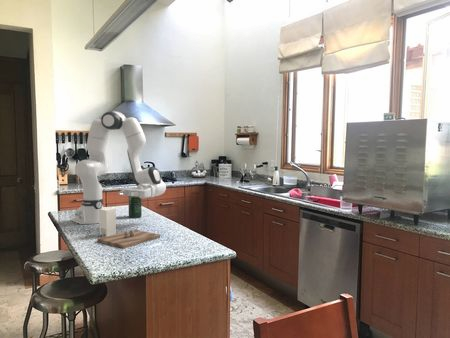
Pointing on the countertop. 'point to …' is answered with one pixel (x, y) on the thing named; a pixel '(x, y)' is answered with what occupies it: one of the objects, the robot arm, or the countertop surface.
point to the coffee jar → (135, 207)
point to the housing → (107, 221)
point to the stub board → (128, 238)
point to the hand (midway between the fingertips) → (124, 194)
